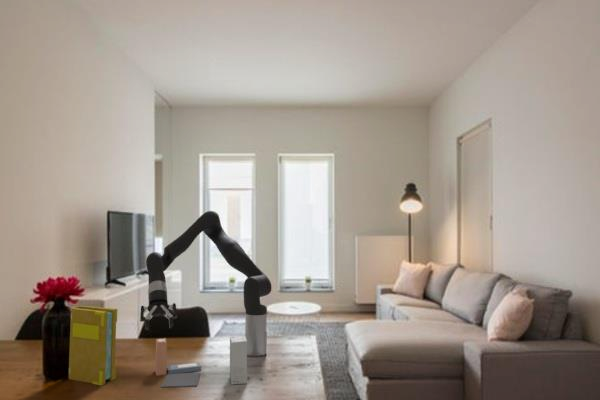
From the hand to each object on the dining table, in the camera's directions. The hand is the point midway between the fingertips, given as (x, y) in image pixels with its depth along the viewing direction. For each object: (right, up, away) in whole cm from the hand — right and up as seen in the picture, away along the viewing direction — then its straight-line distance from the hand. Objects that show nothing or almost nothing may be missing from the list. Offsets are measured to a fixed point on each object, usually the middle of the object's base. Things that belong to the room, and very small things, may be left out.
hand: (159, 328), depth 172 cm
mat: (+14, -13, -17) cm, 26 cm away
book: (-20, -13, -17) cm, 29 cm away
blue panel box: (+12, -14, -7) cm, 19 cm away
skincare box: (+34, -14, -16) cm, 40 cm away
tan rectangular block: (+4, -14, -10) cm, 17 cm away
